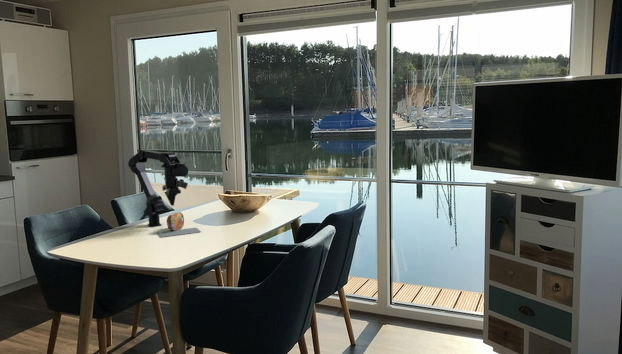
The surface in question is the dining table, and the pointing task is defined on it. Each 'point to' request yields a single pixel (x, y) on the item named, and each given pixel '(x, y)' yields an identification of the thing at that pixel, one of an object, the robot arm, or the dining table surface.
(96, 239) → the dining table surface
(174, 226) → the tin
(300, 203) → the dining table surface
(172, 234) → the mat
